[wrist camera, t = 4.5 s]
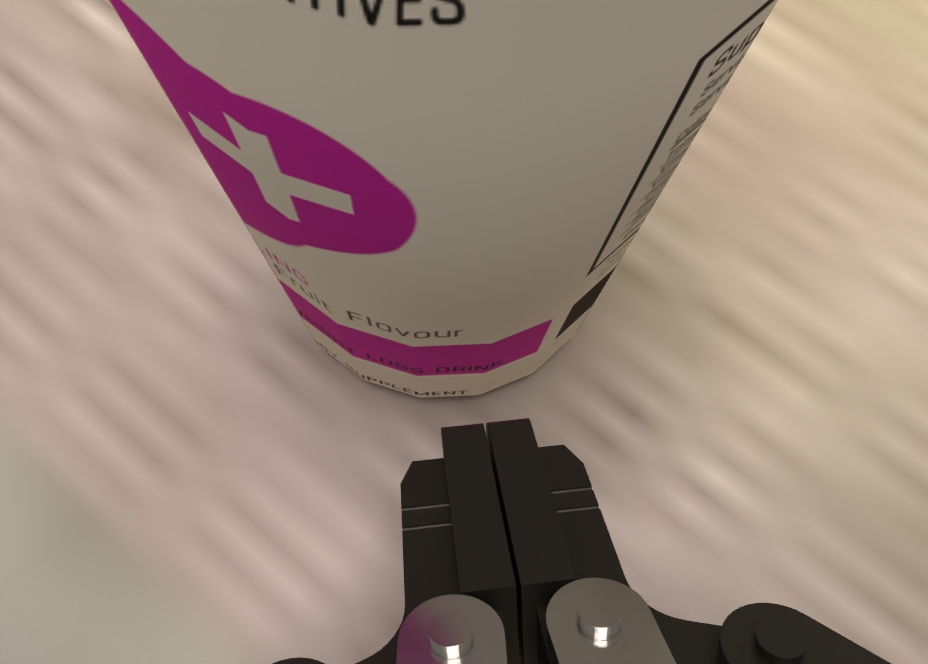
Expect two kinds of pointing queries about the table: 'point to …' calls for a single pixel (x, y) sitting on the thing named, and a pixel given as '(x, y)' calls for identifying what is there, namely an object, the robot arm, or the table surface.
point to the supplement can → (443, 157)
